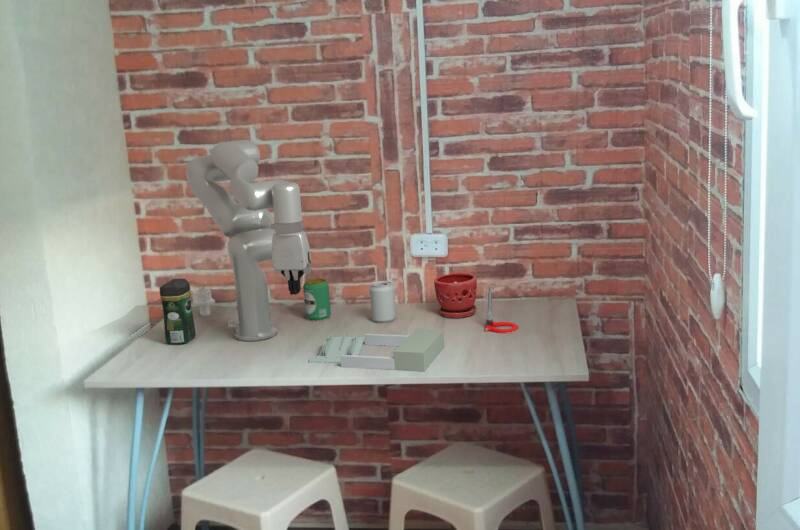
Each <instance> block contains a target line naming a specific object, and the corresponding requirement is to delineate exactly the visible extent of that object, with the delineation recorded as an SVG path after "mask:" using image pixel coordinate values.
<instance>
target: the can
mask: <svg viewBox="0 0 800 530" xmlns="http://www.w3.org/2000/svg"><path fill="white" fill-rule="evenodd" d="M369 293H370V294H369V295H370V310H371V311H370V312H371V314H370V315H371V319H372V321H373V322H375V323H377V322H378V323H379V324H385V323H387V322H388V323H391V322H393V321H394V320H395V319H396V317H397V314H396V313H397V311H396V294H395V286H394V285H393V282H392V281H390V280H378V281H374V282H372V283H371V287H370V288H369ZM378 323H377V324H378ZM388 323H387V324H388Z"/></svg>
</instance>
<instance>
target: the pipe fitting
mask: <svg viewBox="0 0 800 530" xmlns="http://www.w3.org/2000/svg"><path fill="white" fill-rule="evenodd" d="M194 297H195V300H192V304H193V305H194V306H196V307H199V314H200V316H202V317H206V316H209V315H211V309H210V308H211V307H210V306H211V305H212V304H213V305H214V304H215V303H216V300H215V299H214V298H213V297H212V290H211V289H209V288H203V289H196V290H195V291H194Z"/></svg>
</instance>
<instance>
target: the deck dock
mask: <svg viewBox="0 0 800 530" xmlns="http://www.w3.org/2000/svg"><path fill="white" fill-rule="evenodd" d="M444 332H445V330H444V329H434V328H433V329H430V328H429V329H427V328H426V329H425V328H415V329H414V330H413V331H412V332H411V333H410V334H409V335H406V334H385V333H365V334H364V345H365V346H379V345H383V347H384V345H385V347H386V346H387V347H396V349H395V350H394V351H393V356H378V355H377V356H376V355H375V356H374V355H373V356H371V355H341V356H340V357H341V363H340V365H341V366H340V368H353V369H354V368H355V369H370V368H371V370H372V368H374V370H375V369H376V370H388V369H392V370H393V371H408V372H410V371H411V372H426V370H427V369H428V368H429V367H430V365H431V364H432V363H433V362H434V360H435V359H436V358H437V357H438V356H439V355H440V353H442V351H443V349H445V333H444ZM437 355H438V356H437ZM436 356H437V357H436Z"/></svg>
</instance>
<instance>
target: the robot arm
mask: <svg viewBox="0 0 800 530" xmlns="http://www.w3.org/2000/svg"><path fill="white" fill-rule="evenodd" d="M260 160H261V151H260V148H259V146H258V145H257V144H256V143H255V142H254V141H252V140H250V139H239V140H238V139H237V140H231V141H230V140H229V141H224V142H222V141H221V142H219V143H217V144H216V145H214V146H213V147H212V148H211V150H210V154H207V155H200V156H196V157H194V158H192V159H191V160H190V161H188V162H187V164H186V168H185V176H186V180H187V183H188V185H189V188H190V191H192V193H193V195H194V196H195V197H196V198H197V199H198V200H199V201H200V202H201V204H202V205H204V208H205V209H206V210H207V211H208V213H209V215H210V216H211V218H212V220H213V221H214V224H216V227H217V228H218V229H219V231H220V233H221V234H222V235H223V236H224V237H227V238H229V240H228V242H227V252H228V256H229V259H230V263H231V267H232V272H233V281H234V289H235V291H234V292H235V301H236V309H237V317H238V319H237V320H231V319H230V320H228V322H227V328H228V329H235V331H234V338H235V339H236V340H238V341H243V342H253V341H263V340H267V339H271V338H272V337H274V336H276V335H277V332H278V329H277V328H276V327H275V326H272V321H271V311H270V298H269V286H268V278H267V275H266V273H265V271H264V270H263V269H262V268H261V267H260V266H259V263H261V262H265V261H270V260H271V265H272V266H271V267H272V268H273V269H274V273H277V274H279V275H280V274H281V275H282V276H283V277H284V278H285V280H286V281H287V285H288V286H287V287H288V292H289V294H290V295H291V296H292V295H295V296H296V295H298V294H299V293H301V289H302V286H301V285H302V284H301V278H302V277H303V276H304V275H305V274H309V273H311V272H313V269H312V266H311V265H312V255H311V248H310V243H309V239H308V236H307V233H306V231H304V224H303V223H304V222H303V213H302V202H301V201H302V200H301V191H300V190H301V189H300V186H299V184H298V183H296V182H293V181H290V182H289V181H287V180H284V179H273V180H265V181H257V182H256V179H257V178H258V175H259V163H260ZM227 181H229V185H230V187H229V189H230V191H231V193H230V192H229V191H228V190H227V189H226V188H224V187H223V186H221V185H219V184H217V183H219V182H227ZM254 181H255V182H254ZM268 209H272V210H273V215H272V214H271V212H270V211H269V210H268Z"/></svg>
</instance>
